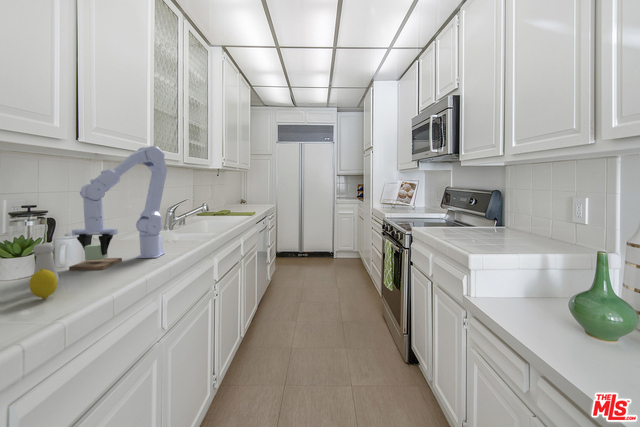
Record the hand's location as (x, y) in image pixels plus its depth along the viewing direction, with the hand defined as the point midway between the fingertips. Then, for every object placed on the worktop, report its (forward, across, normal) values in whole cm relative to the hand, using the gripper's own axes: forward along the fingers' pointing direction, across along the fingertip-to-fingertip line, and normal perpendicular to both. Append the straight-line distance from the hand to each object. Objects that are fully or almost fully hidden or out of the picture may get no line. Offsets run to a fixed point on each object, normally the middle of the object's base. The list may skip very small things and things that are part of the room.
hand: (96, 254), depth 122 cm
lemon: (+4, +7, -36) cm, 37 cm away
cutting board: (+4, 0, 0) cm, 4 cm away
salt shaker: (+4, +2, -28) cm, 28 cm away
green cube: (+1, 0, 0) cm, 1 cm away
